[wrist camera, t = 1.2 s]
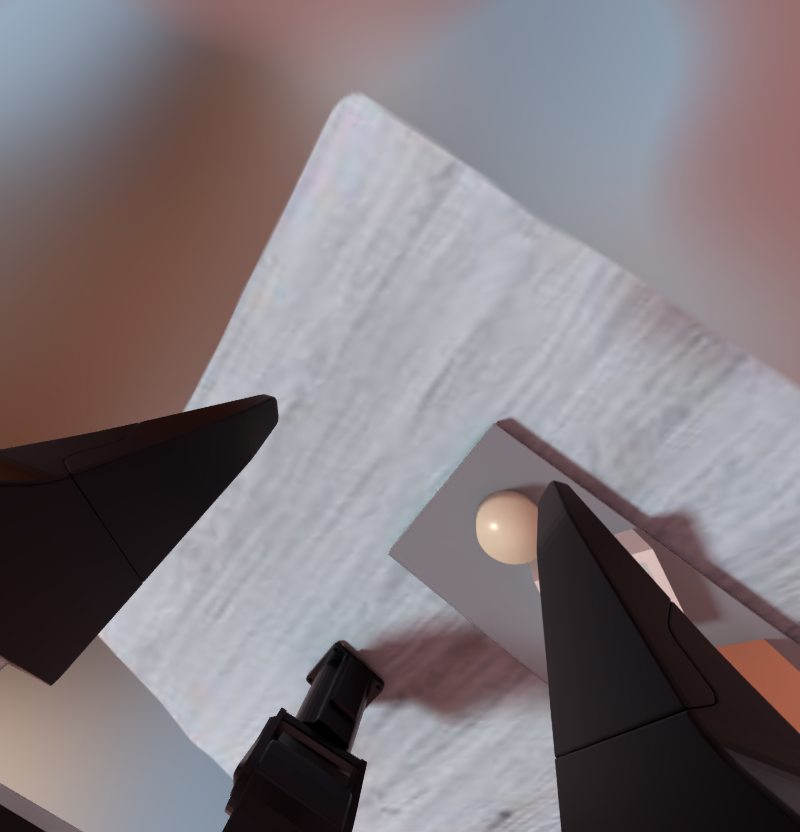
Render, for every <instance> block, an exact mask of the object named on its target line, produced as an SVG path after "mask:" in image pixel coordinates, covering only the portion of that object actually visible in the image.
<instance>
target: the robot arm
mask: <svg viewBox="0 0 800 832" xmlns="http://www.w3.org/2000/svg"><path fill="white" fill-rule="evenodd" d="M277 422H278V407H277V400H276V398H275V397H272V396H269V395H265V394H262V395H257V396H253V397H249V398H244V399H240V400H235V401H231V402H227V403H222V404H218V405H213V406H209V407H205V408H200V409H196V410H191V411H187V412H183V413H178V414H174V415H169V416H165V417H161V418H156V419H152V420H147V421H143V422H140V423H134V424H130V425H125V426H121V427H116V428H111V429H107V430H102V431H98V432H92V433H87V434H82V435H77V436H71V437H66V438H61V439H56V440H50V441H44V442H39V443H33V444H28V445H22V446H17V447H11V448H6V449H0V670H1V669H2V668H4V667H5V666H6V665H7V664H9V665H11V666H13V667H15V668H17V669H19V670H21V671H23V672H25V673H27V674H29V675H31V676H33V677H34V678H36V679H38V680H40V681H42V682H44V683H46V684H48V685H50V686H51V685H53V684H54V683H55V682H56V681H57V680H58V679H59V678H60V677H61V676H62V674H64V672H65V671H66V670H67V669H68V668H69V667H70V666H71V664H72V663H73V662H74V661H75V660H76V659H77V658H78V657H79V655H80V654H81V653H82V652H83V651H84V650H85V649H86V647H87V646H88V645H89V644H90V643H91V642H92V640H93V639H94V638H95V637H96V636H97V635H98V634H99V633H100V631H101V630H102V629H103V628H104V627H105V626H106V625H107V624H108V622H109V621H110V620H111V619H112V618H113V617H114V616H115V614H116V613H117V612H118V611H119V610H120V609H121V608H122V606H123V605H124V604H125V603H126V602H127V601H128V600H129V599H130V597H131V596H132V595H133V594H134V593H135V592H136V591H137V589H138V588H139V587H140V586H141V585H142V584H143V582H144V581H145V580H146V579H147V578H148V577H149V576H150V574H151V573H152V572H153V571H154V570H155V569H156V568H157V566H158V565H159V564H160V563H161V562H162V561H163V560H164V558H165V557H166V556H167V555H168V554H169V553H170V552H171V551H172V549H173V548H174V547H175V546H176V545H177V544H178V543H179V541H180V540H181V539H182V538H183V537H184V536H185V535H186V533H187V532H188V531H189V530H190V529H191V528H192V527H193V526H194V524H195V523H196V522H197V521H198V520H199V519H200V518H201V516H202V515H203V514H204V513H205V512H206V511H207V510H208V508H209V507H210V506H211V505H212V504H213V503H214V502H215V501H216V499H217V498H218V497H219V496H220V495H221V494H222V493H223V491H224V490H225V489H226V488H227V487H228V486H229V485H230V483H231V482H232V481H233V480H234V479H235V478H236V477H237V476H238V474H239V473H240V472H241V471H242V470H243V469H244V468H245V466H246V465H247V464H248V463H249V462H250V461H251V459H252V458H253V457H254V455H255V454H256V453H257V451H258V450H259V449H260V447H261V446H262V444H263V443H264V442H265V440H266V439H267V437H268V436H269V434H270V433H271V432H272V430H273V429H274V427H275V426H276V424H277ZM537 565H538V576H539V587H540V598H541V609H542V620H543V631H544V642H545V653H546V664H547V675H548V686H549V697H550V708H551V719H552V730H553V741H554V752H555V757H556V759H555V766H556V777H557V788H558V799H559V810H560V821H561V832H800V733H799V732H798V731H797V730H796V729H795V728H794V727H793V726H792V725H791V724H790V723H789V722H788V721H787V720H786V719H785V718H784V717H783V716H782V715H781V714H780V713H779V712H778V711H777V710H776V709H775V708H774V707H773V706H772V705H771V704H770V703H769V702H768V701H767V700H766V699H765V698H764V697H763V696H762V695H761V694H760V693H759V692H758V691H757V690H756V689H755V688H754V687H753V686H752V685H751V684H750V683H749V682H748V681H747V680H746V679H745V678H744V677H743V676H742V675H741V674H740V672H739V671H738V670H737V669H736V668H735V667H734V666H733V665H732V664H731V663H730V662H729V661H728V660H727V659H726V658H725V657H724V656H723V655H722V654H721V653H720V652H719V651H718V650H717V649H716V648H715V647H714V646H713V645H712V643H711V642H710V641H709V640H708V639H707V638H706V637H705V636H704V635H703V634H702V633H701V632H700V630H699V629H698V628H697V627H696V626H695V625H694V624H693V623H692V622H691V621H690V620H689V619H688V617H687V616H686V615H685V614H684V613H683V612H682V611H681V610H680V608H679V607H678V606H677V605H676V604H675V603H674V602H671V599H670V597H669V596H668V595H667V594H666V593H665V592H664V591H663V590H662V589H661V587H660V586H659V585H658V584H657V583H656V582H655V581H654V580H653V578H652V577H651V576H650V575H649V574H648V573H647V572H646V571H645V570H644V568H643V567H642V566H641V565H640V564H639V563H638V562H637V561H636V560H635V558H634V557H633V556H632V555H631V554H630V553H629V552H628V551H627V549H626V548H625V547H624V546H623V545H622V544H621V543H620V542H619V541H618V539H617V538H616V537H615V536H614V535H613V534H612V533H611V532H610V531H609V529H608V528H607V527H606V526H605V525H604V524H603V523H602V522H601V521H600V519H599V518H598V517H597V516H596V515H595V514H594V513H593V512H592V510H591V509H590V508H589V507H588V506H587V505H586V504H585V503H584V502H583V500H582V499H581V498H580V497H579V496H578V495H577V494H576V493H575V492H574V490H573V489H572V488H571V487H570V486H569V485H568V484H566V483H563V482H559V481H556V480H553V481H551V482H550V483H549V485H548V486H547V488H546V489H545V491H544V492H543V494H542V496H541V497H540V499H539V502H538V519H537ZM306 680H307V682H308V683H309V684H310V685H311V687H310V689H309V691H308V693H307V695H306V697H305V699H304V701H303V703H302V705H301V707H300V709H299V711H298V713H297V715H296V717H294V716H292V715H290V714H289V713H287V712H286V711H287V710H285V709H284V708H281V709H280V711H279V713H278V714H277V716H274V717H270V718H269V720H268V722H267V723H266V725H265V727H264V728H263V730H262V732H261V734H260V735H259V737H258V738H257V740H256V741H255V743H254V744H253V746H252V747H251V748H250V750H249V751H248V752H247V754H246V755H245V756H244V758H243V759H242V761H241V762H240V763H239V765H238V766H237V768H236V770H235V772H234V774H233V782H234V787H233V789H232V792H231V794H230V796H231V797H230V799H229V801H228V803H227V806H226V809H225V812H226V813H227V814H228V815H230V818H229V820H228V822H227V824H226V826H225V828H224V829H223V831H222V832H352V829H353V826H354V821H355V817H356V812H357V807H358V803H359V798H360V793H361V789H362V784H363V779H364V774H365V770H366V765H367V762H366V761H364V760H363V759H361V760H360V759H359V758H357V757H356V756H354V755H352V754H351V750H352V747H353V744H354V741H355V737H356V734H357V731H358V728H359V725H360V721H361V718H362V715H363V712H364V709H365V707H366V706H367V705H368V704H369V703H370V702H371V701H372V700H373V699H374V698H375V697H376V696H377V695H378V694H379V693H380V692H381V691H382V690H383V687H384V682H383V681H382V680H381V679H380V678H379V677H377V676H376V675H375V674H374V673H373V672H372V671H371V670H369V669H368V668H367V667H366V666H365V665H364V664H363V663H361V662H360V661H359V660H358V659H357V658H356V657H355V656H353V655H352V654H351V653H350V652H349V651H348V650H347V649H345V648H344V647H343V646H342V645H341V644H339V643H335V644H334V645H333V646H332V647H331V648H330V649H329V650H328V652H327V653H326V654H325V655H324V656H323V657H322V659H321V660H320V661H319V662H318V663H317V664H316V666H315V667H314V668H313V669H312V670H311V671H310V673H309V674H308V676H307V678H306ZM0 832H82V831H81V830H79V829H77V828H76V827H74V826H72V825H71V824H69V823H67V822H65V821H63V820H62V819H60V818H59V817H57V816H55V815H54V814H52V813H50V812H49V811H47V810H45V809H43V808H42V807H40V806H38V805H37V804H35V803H33V802H31V801H30V800H28V799H26V798H25V797H23V796H21V795H20V794H18V793H16V792H15V791H13V790H11V789H9V788H8V787H6V786H4V785H3V784H1V783H0Z"/></svg>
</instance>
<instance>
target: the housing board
mask: <svg viewBox="0 0 800 832" xmlns="http://www.w3.org/2000/svg"><path fill="white" fill-rule="evenodd" d="M553 480H556V481H559V482H563V483H566V484H568V485H569V486H570V487H571V488H572V489H573V490H574V492H575V493H576V494H577V495H578V496H579V497H580V498H581V499H582V500H583V502H584V503H585V504H586V505H587V506H588V507H589V508H590V509H591V510H592V512H593V513H594V514H595V515H596V516H597V517H598V518H599V519H600V521H601V522H602V523H603V524H604V525H605V526H606V527H607V528H608V529H609V531H610V532H611V533H612V534H613V535H614V536H615V537H616V538H617V539H618V541H619V542H620V543H621V544H622V545H623V546H624V547H625V548H626V549H627V551H628V552H629V553H630V554H631V555H632V556H633V557H634V558H635V560H636V561H637V562H638V563H639V564H640V565H641V566H642V567H643V568H644V570H645V571H646V572H647V573H648V574H649V575H650V576H651V577H652V578H653V580H654V581H655V582H656V583H657V584H658V585H659V586H660V587H661V589H662V590H663V591H664V592H665V593H666V594H667V595H668V596H669V597H670V599H671V602H674V603H675V604H676V605H677V606H678V607H679V608H680V610H681V611H682V612H683V613H684V614H685V615H686V616H687V617H688V619H689V620H690V621H691V622H692V623H693V624H694V625H695V626H696V627H697V628H698V629H699V630H700V632H701V633H702V634H703V635H704V636H705V637H706V638H707V639H708V640H709V641H710V642H711V643H712V645H713V646H714V647H715V648H716V647H722V646H727V645H733V644H738V643H743V642H749V641H754V640H760V639H764V640H765V641H767V642H768V643H769V644H770V645H771V646H772V647H773V648H774V649H775V650H776V651H777V652H779V653H780V654H781V655H782V656H783V657H784V658H785V659H786V660H787V661H788V662H789V663H791V664H792V665H793V666H794V667H795V668H796V669H797V670H798V671H799V672H800V645H799V644H798V643H796V642H795V641H794V640H792V639H791V638H790V637H788V636H787V635H785V634H784V633H783V632H781V631H780V630H779V629H777V628H776V627H774V626H773V625H772V624H770V623H769V622H768V621H766V620H765V619H763V618H762V617H761V616H759V615H758V614H757V613H755V612H754V611H752V610H751V609H750V608H748V607H747V606H746V605H744V604H743V603H741V602H740V601H739V600H737V599H736V598H735V597H733V596H732V595H731V594H729V593H728V592H726V591H725V590H724V589H722V588H721V587H720V586H718V585H717V584H715V583H714V582H713V581H711V580H710V579H709V578H707V577H706V576H704V575H703V574H702V573H700V572H699V571H698V570H696V569H695V568H693V567H692V566H691V565H689V564H688V563H687V562H685V561H684V560H682V559H681V558H680V557H678V556H677V555H676V554H674V553H673V552H671V551H670V550H669V549H667V548H666V547H665V546H663V545H662V544H660V543H659V542H658V541H656V540H655V539H654V538H652V537H651V536H649V535H648V534H647V533H645V532H644V531H643V530H641V529H640V528H638V527H637V526H636V525H634V524H633V523H632V522H630V521H629V520H628V519H626V518H625V517H623V516H622V515H621V514H619V513H618V512H617V511H615V510H614V509H612V508H611V507H610V506H608V505H607V504H606V503H604V502H603V501H601V500H600V499H599V498H597V497H596V496H595V495H593V494H592V493H590V492H589V491H588V490H586V489H585V488H584V487H582V486H581V485H579V484H578V483H577V482H575V481H574V480H573V479H571V478H570V477H568V476H567V475H566V474H564V473H563V472H562V471H560V470H559V469H557V468H556V467H555V466H553V465H552V464H551V463H549V462H548V461H546V460H545V459H544V458H542V457H541V456H540V455H538V454H537V453H536V452H534V451H533V450H531V449H530V448H529V447H527V446H526V445H525V444H523V443H522V442H520V441H519V440H518V439H516V438H515V437H514V436H512V435H511V434H509V433H508V432H507V431H505V430H504V429H503V428H501V427H500V426H498V425H497V424H496V423H494V424H493V425H492V426H491V428H490V429H489V430H488V431H487V433H486V434H485V435H484V436H483V437H482V439H481V440H480V441H479V442H478V443H477V445H476V446H475V447H474V448H473V449H472V451H471V452H470V453H469V454H468V456H467V457H466V458H465V459H464V460H463V462H462V463H461V464H460V465H459V466H458V468H457V469H456V470H455V471H454V473H453V474H452V475H451V476H450V477H449V479H448V480H447V481H446V482H445V483H444V485H443V486H442V487H441V488H440V489H439V491H438V492H437V493H436V494H435V496H434V497H433V498H432V499H431V500H430V502H429V503H428V504H427V505H426V506H425V508H424V509H423V510H422V511H421V512H420V514H419V515H418V516H417V517H416V519H415V520H414V521H413V522H412V523H411V525H410V526H409V527H408V528H407V529H406V531H405V532H404V533H403V534H402V535H401V537H400V538H399V539H398V540H397V542H396V543H395V544H394V545H393V546H392V548H391V550H390V552H389V554H388V555H390V556H391V557H392V558H393V559H395V560H396V561H397V562H398V563H400V564H401V565H402V566H403V567H404V568H406V569H407V570H408V571H409V572H411V573H412V574H413V575H414V576H415V577H417V578H418V579H419V580H420V581H422V582H423V583H424V584H425V585H426V586H428V587H429V588H430V589H431V590H433V591H434V592H435V593H436V594H437V595H439V596H440V597H441V598H442V599H444V600H445V601H446V602H447V603H448V604H450V605H451V606H452V607H453V608H455V609H456V610H457V611H458V612H459V613H461V614H462V615H463V616H464V617H466V618H467V619H468V620H469V621H470V622H472V623H473V624H474V625H475V626H477V627H478V628H479V629H480V630H482V631H483V632H484V633H485V634H486V635H488V636H489V637H490V638H491V639H493V640H494V641H495V642H496V643H497V644H499V645H500V646H501V647H502V648H504V649H505V650H506V651H507V652H508V653H510V654H511V655H512V656H513V657H515V658H516V659H517V660H518V661H519V662H521V663H522V664H523V665H524V666H526V667H527V668H528V669H529V670H530V671H532V672H533V673H534V674H535V675H537V676H538V677H539V678H540V679H541V680H543V681H544V682H545V683H546V684H548V675H547V664H546V653H545V642H544V631H543V620H542V609H541V598H540V587H539V576H538V565H537V519H538V502H539V499H540V497H541V496H542V494H543V492H544V491H545V489H546V488H547V486H548V485H549V483H550V482H551V481H553Z"/></svg>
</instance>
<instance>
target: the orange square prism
mask: <svg viewBox="0 0 800 832" xmlns="http://www.w3.org/2000/svg"><path fill="white" fill-rule="evenodd" d="M716 649H717V650H718V651H719V652H720V653H721V654H722V655H723V656H724V657H725V658H726V659H727V660H728V661H729V662H730V663H731V664H732V665H733V666H734V667H735V668H736V669H737V670H738V671H739V672H740V674H741V675H742V676H743V677H744V678H745V679H746V680H747V681H748V682H749V683H750V684H751V685H752V686H753V687H754V688H755V689H756V690H757V691H758V692H759V693H760V694H761V695H762V696H763V697H764V698H765V699H766V700H767V701H768V702H769V703H770V704H771V705H772V706H773V707H774V708H775V709H776V710H777V711H778V712H779V713H780V714H781V715H782V716H783V717H784V718H785V719H786V720H787V721H788V722H789V723H790V724H791V725H792V726H793V727H794V728H795V729H796V730H797V731H798V732H799V733H800V672H799V671H798V670H797V669H796V668H795V667H794V666H793V665H792V664H791V663H789V662H788V661H787V660H786V659H785V658H784V657H783V656H782V655H781V654H780V653H779V652H777V651H776V650H775V649H774V648H773V647H772V646H771V645H770V644H769V643H768V642H767V641H765V640H764V639H760V640H754V641H749V642H743V643H738V644H733V645H727V646H722V647H716Z"/></svg>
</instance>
